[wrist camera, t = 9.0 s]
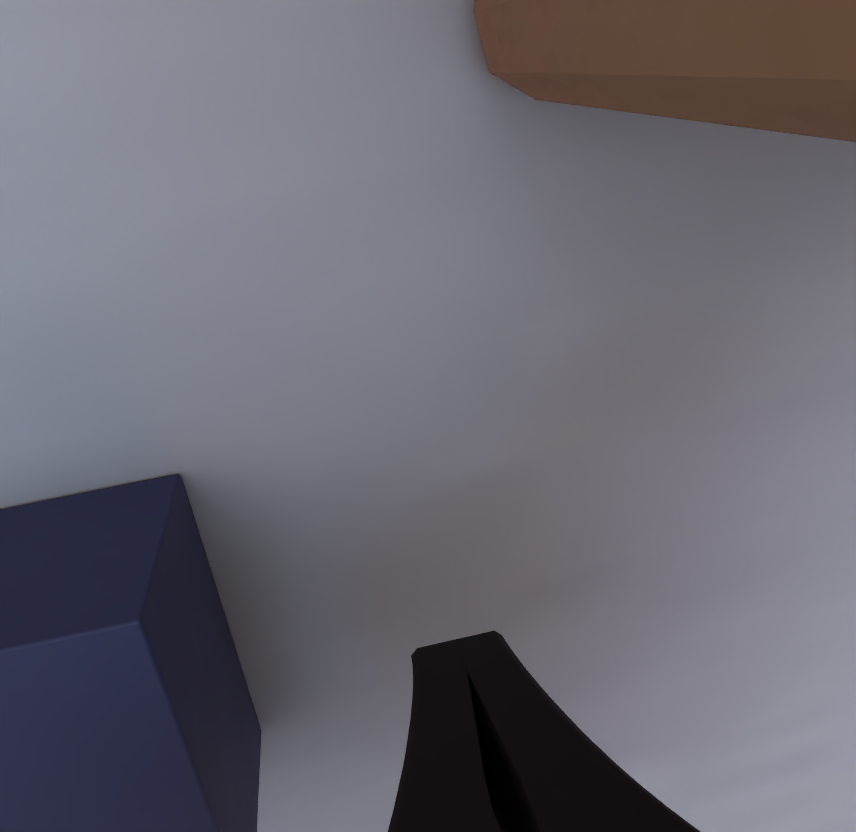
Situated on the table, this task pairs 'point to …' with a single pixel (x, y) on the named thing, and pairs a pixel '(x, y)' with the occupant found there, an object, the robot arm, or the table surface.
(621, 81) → the wooden block
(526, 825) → the robot arm
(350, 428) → the table surface
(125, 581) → the navy block
